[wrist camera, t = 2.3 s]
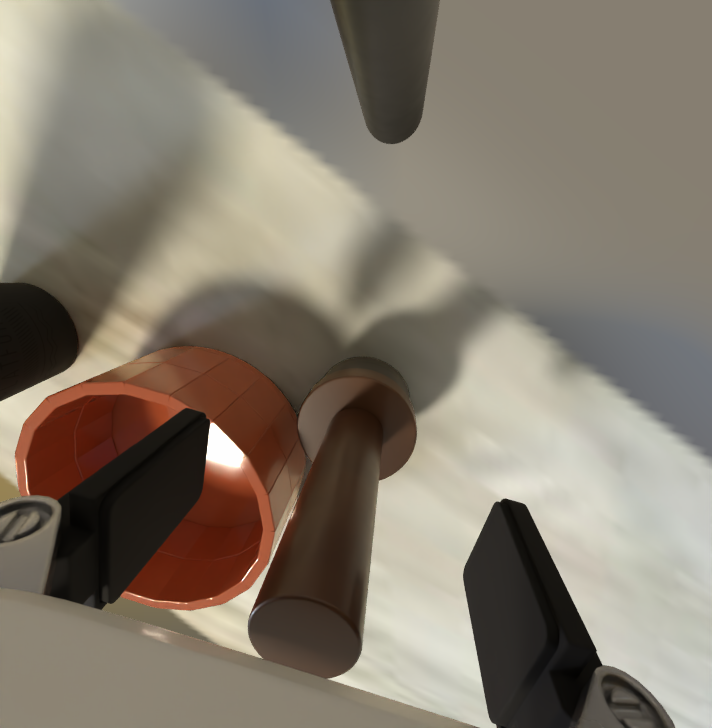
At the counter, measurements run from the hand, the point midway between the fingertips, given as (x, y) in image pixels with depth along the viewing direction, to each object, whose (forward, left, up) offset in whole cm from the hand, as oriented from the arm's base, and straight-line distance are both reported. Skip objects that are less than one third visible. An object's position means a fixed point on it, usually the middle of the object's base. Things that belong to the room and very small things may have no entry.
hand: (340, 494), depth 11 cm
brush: (0, 0, -7) cm, 7 cm away
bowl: (+5, -8, -7) cm, 11 cm away
